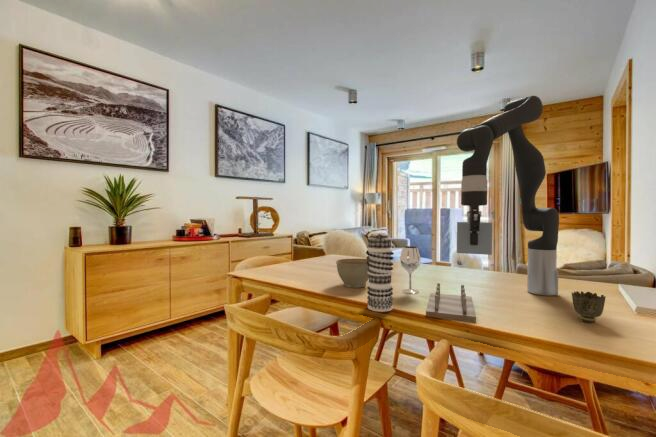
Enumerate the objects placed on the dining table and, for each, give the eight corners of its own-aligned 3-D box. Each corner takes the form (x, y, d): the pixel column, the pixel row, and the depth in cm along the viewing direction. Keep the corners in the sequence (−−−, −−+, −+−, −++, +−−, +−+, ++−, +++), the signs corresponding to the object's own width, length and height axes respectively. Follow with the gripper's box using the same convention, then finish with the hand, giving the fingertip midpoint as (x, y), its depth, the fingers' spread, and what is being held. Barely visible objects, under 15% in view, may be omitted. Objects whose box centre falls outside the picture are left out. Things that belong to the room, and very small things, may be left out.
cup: (564, 317, 91) (565, 291, 90) (587, 316, 91) (587, 290, 91) (588, 326, 83) (588, 298, 83) (612, 325, 84) (612, 297, 84)
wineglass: (421, 294, 116) (421, 248, 116) (400, 293, 118) (400, 248, 117) (419, 289, 124) (419, 246, 124) (399, 288, 126) (399, 245, 125)
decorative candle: (377, 314, 95) (376, 235, 94) (361, 305, 103) (360, 233, 103) (399, 309, 99) (399, 234, 99) (382, 301, 107) (382, 232, 107)
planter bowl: (379, 283, 134) (378, 259, 134) (363, 292, 121) (363, 265, 120) (347, 279, 143) (347, 257, 143) (329, 287, 129) (329, 262, 129)
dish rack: (430, 296, 113) (430, 281, 113) (471, 300, 108) (471, 284, 108) (425, 316, 93) (425, 296, 93) (476, 321, 87) (476, 301, 87)
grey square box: (456, 252, 99) (456, 222, 99) (490, 253, 96) (491, 222, 95) (456, 253, 97) (457, 222, 97) (491, 254, 93) (492, 222, 93)
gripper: (490, 188, 88) (489, 247, 88) (484, 191, 101) (483, 243, 101) (462, 189, 91) (461, 246, 91) (460, 192, 104) (459, 242, 104)
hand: (473, 244), depth 96 cm, fingers closed on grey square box, 2 cm apart
